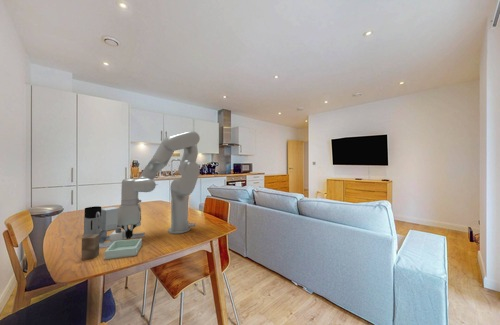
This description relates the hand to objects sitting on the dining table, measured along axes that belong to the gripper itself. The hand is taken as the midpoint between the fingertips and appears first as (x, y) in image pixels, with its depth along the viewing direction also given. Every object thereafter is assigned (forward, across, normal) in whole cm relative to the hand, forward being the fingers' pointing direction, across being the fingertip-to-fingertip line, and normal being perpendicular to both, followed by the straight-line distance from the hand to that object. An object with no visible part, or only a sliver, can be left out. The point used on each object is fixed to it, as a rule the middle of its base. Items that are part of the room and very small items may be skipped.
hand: (129, 237), depth 101 cm
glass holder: (+2, +21, -15) cm, 26 cm away
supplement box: (+2, +16, -25) cm, 30 cm away
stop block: (+2, +11, +15) cm, 18 cm away
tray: (+2, -2, +14) cm, 14 cm away
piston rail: (+2, +4, 0) cm, 4 cm away
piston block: (+2, +5, 0) cm, 5 cm away
